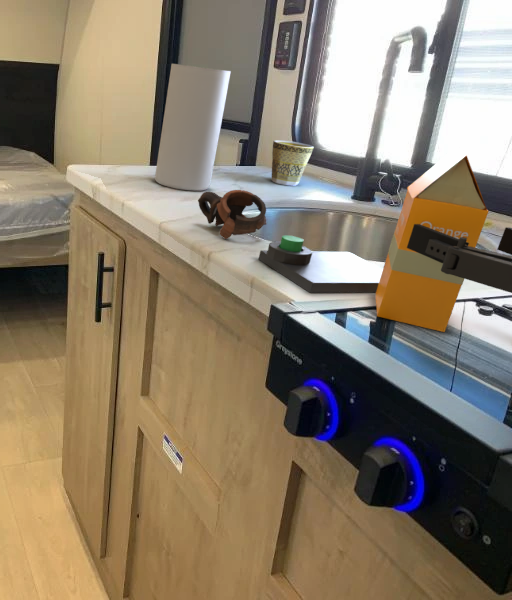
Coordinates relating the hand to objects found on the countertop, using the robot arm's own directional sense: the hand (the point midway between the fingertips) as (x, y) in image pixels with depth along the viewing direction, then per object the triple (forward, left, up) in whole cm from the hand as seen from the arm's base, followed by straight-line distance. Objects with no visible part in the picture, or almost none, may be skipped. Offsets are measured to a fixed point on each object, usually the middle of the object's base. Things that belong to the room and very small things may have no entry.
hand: (459, 237), depth 68 cm
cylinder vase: (0, -74, -11) cm, 74 cm away
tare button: (+7, -19, -8) cm, 22 cm away
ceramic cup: (-35, -85, -11) cm, 92 cm away
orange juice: (0, -4, -11) cm, 12 cm away
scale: (+2, -17, -11) cm, 20 cm away
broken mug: (+8, -37, -11) cm, 39 cm away
